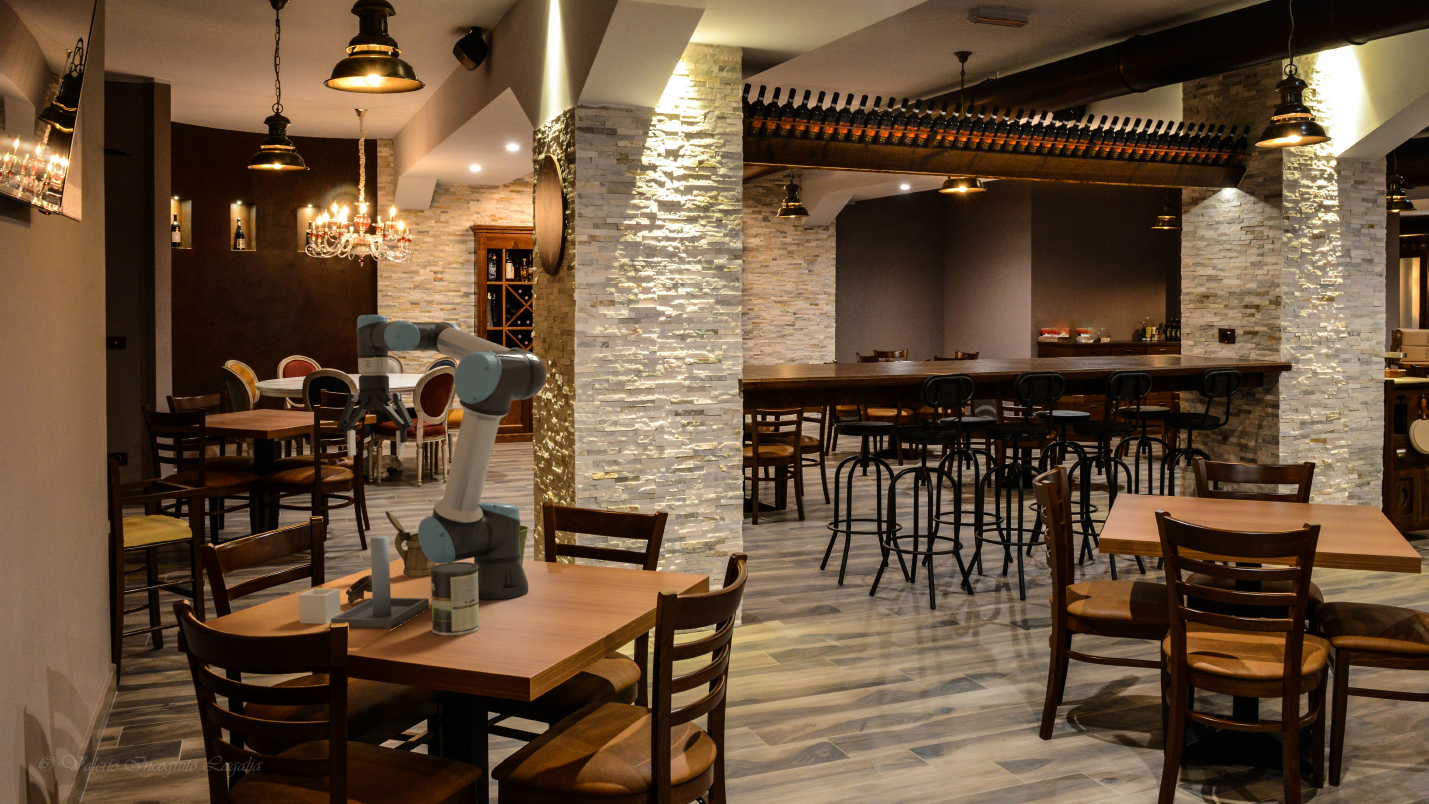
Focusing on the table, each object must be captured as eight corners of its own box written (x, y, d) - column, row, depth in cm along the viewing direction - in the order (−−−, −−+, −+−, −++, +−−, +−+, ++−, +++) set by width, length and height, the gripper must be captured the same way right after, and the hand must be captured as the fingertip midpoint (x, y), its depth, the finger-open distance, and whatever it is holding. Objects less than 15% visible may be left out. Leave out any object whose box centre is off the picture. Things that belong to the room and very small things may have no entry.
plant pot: (484, 565, 295) (483, 527, 294) (524, 561, 300) (523, 523, 299) (492, 573, 284) (491, 533, 283) (534, 569, 289) (533, 529, 288)
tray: (429, 608, 246) (428, 598, 246) (390, 631, 226) (390, 620, 226) (374, 607, 248) (373, 597, 248) (331, 629, 228) (330, 618, 228)
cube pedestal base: (340, 618, 238) (339, 588, 237) (326, 626, 231) (325, 595, 231) (315, 618, 239) (314, 588, 238) (299, 625, 232) (298, 594, 232)
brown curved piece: (388, 610, 246) (369, 583, 244) (355, 627, 248) (336, 600, 245) (402, 587, 258) (383, 561, 256) (370, 603, 259) (352, 577, 257)
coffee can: (427, 636, 221) (425, 572, 221) (437, 624, 232) (435, 562, 231) (476, 635, 222) (474, 570, 221) (483, 622, 232) (481, 561, 232)
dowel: (394, 612, 238) (391, 536, 238) (386, 617, 235) (383, 539, 234) (378, 612, 239) (375, 535, 238) (369, 616, 235) (367, 539, 234)
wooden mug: (389, 572, 288) (387, 508, 287) (439, 570, 290) (437, 506, 289) (384, 579, 279) (382, 513, 278) (436, 576, 281) (434, 511, 280)
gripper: (321, 375, 265) (324, 456, 266) (412, 374, 262) (414, 456, 263) (336, 374, 273) (339, 453, 274) (425, 373, 269) (427, 454, 270)
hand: (376, 455), depth 268 cm, fingers open, 13 cm apart
